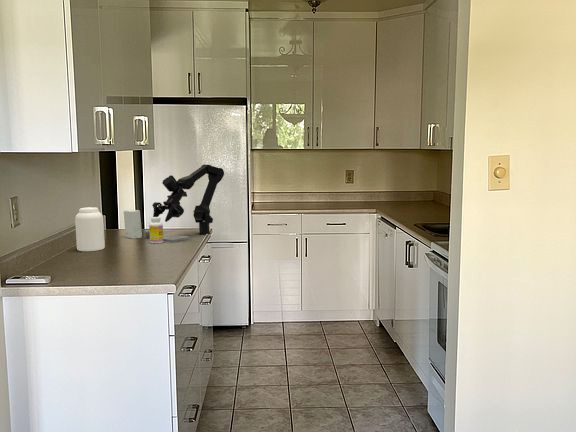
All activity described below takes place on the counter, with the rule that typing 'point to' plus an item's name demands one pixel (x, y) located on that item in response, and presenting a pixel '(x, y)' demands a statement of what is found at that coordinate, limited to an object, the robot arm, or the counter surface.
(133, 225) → the skincare box
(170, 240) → the grey flat square piece
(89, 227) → the white jar
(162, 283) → the counter surface
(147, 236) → the dark grey thick disc
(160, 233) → the supplement bottle
